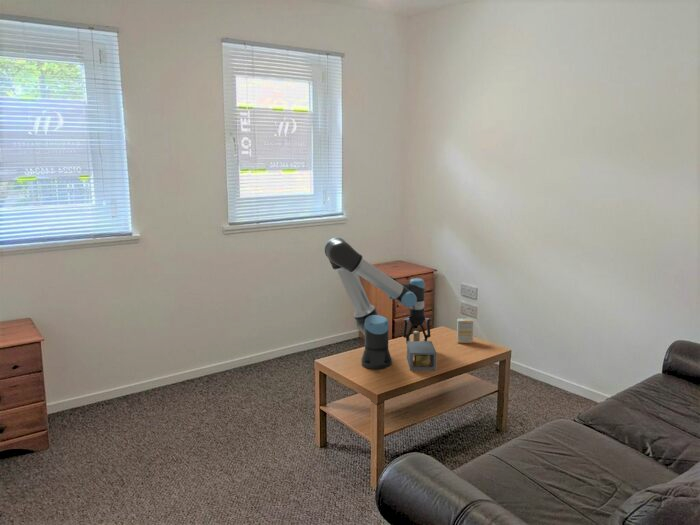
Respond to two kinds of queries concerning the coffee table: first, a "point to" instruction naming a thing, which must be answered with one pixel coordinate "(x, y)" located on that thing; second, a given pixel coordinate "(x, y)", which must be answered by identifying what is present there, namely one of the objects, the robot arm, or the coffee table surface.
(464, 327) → the supplement box
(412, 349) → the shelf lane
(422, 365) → the cream headed mallet
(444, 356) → the coffee table surface
